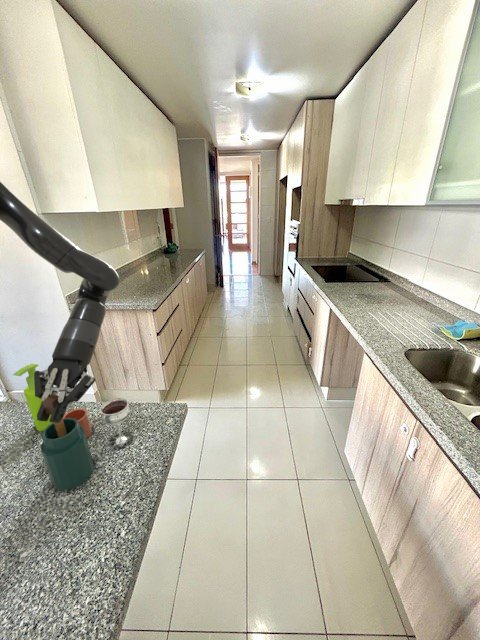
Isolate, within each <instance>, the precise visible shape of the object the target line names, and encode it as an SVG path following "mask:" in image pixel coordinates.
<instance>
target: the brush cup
mask: <svg viewBox="0 0 480 640" xmlns="http://www.w3.org/2000/svg"><path fill="white" fill-rule="evenodd" d="M89 417H90V416H89V413H88V411H87V409H85V408H76V409H75V408H74V409H72V410H70V411H67V412H66V413H65V414H64V417H63V419H65V418H75V419H76V420H77V421H78V422H79V426H80V427H82V428H83V429H84V430H85V434H86V438H87V439H88V438H89V437H90V435H92V432H93V431H92V425H91V422H90V418H89Z"/></svg>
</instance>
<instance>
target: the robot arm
mask: <svg viewBox="0 0 480 640" xmlns="http://www.w3.org/2000/svg"><path fill="white" fill-rule="evenodd" d="M0 221H1V222H2V223H4V224H5V225H6V226H7V227H8V228H9V229H10V230H12V231H13V232H14V233H15V235H16V236H17V237H18V239H20V240H21V241H22V242H23V243H24V244H25V245H26V246H27V247H28V248H29V249H30V250H31V251H32V252H34V253H35V254H37V256H39V257H41V258H42V259H43V260H45V261H46V262H47V263H48V264H50V265H52V266H53V267H54V268H56V269H57V270H59V271H60V272H61V273H64V274H74V275H77V276H78V277H81V278H82V280H81V283H80V285H79V288H78V291H77V296H76V300H75V303H74V305H73V307H72V309H71V311H70V314H69V317H68V318H67V320H66V323H65V325H64V326H63V327H62V330H61V333H60V335H59V338H58V340H57V342H56V344H55V348H54V350H53V352H52V355H51V358H52V362H51V363H50V364H49V365H48V367H47V369H44V370H42V371H41V370H36V372H35V373H34V384H35V396H36V397H39V398H40V399H41V400H42V401H44V400H45V399H46V398H48V397H49V396H50V394H51V395H57V396H59V397H58V403H56V404H55V407H54V409H53V412H52V414H51V417H50V420H49V421H50V422H54V423H59V422H60V420H62V419H63V417H64V415H65V414H66V412H67V408H68V406H69V404H71V403H74V402H75V403H77V402H80V400H81V399H82V397H83V396H84V395H85V394H86V393H87V392H88V390H90V388H91V387H92V385H93V384H94V383H95V382H96V377H93V376H91V375H89V374H88V366H89V365H90V364H91V361H92V358H93V356H94V352H95V350H96V346H97V344H98V341H99V338H100V333H101V328H102V326H103V323H104V320H105V317H106V313H107V309H106V302H107V299H108V297H109V296H110V294H111V293H112V292H114V291H116V290H117V288H118V286H119V285H120V276H119V274H118V272H117V271H116V270H115V269H114V268H113V266H111V265H110V264H109V263H107V262H106V261H104V260H102V259H100V258H98V257H96V256H94V255H93V254H90V253H89V252H86V251H84V250H83V249H81V248H80V247H79V246H77V245H76V244H75V243H74V242H72V241H71V240H70V239H68V238H67V237H66V236H65V235H63V234H62V233H61V232H59V231H58V230H57V229H56V228H54V227H53V226H51V225H50V224H49V223H47V222H46V221H45V220H44V219H43V218H41V217H40V216H39V215H38V214H36V213H35V212H34V211H33V210H31V209H30V207H28V206H27V205H26V204H25V203H23V201H21V200H20V199H19V198H18V197H17V196H15V194H14V193H13V192H12V191H10V189H9V188H8V187H6V186H5V184H4V183H3V182H2V181H0ZM51 392H52V393H51ZM49 416H50V414H46V411H45V408H44V405H43V402H42V403H41V406H40V408H39V411H38V413H37V420H38V421H47V420H48V419H49Z"/></svg>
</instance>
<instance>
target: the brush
mask: <svg viewBox="0 0 480 640" xmlns="http://www.w3.org/2000/svg"><path fill="white" fill-rule="evenodd" d="M58 397H59V395H50V396H49V397H48V398H46V399H45V400H44V401H42V402H43V405H44V408H45V411H46V414H52V412H53V409H54V407H55V404H56V403H58ZM54 425H55V428H56V431H57V435H58V438H60V437H63V436H65V435H67V432H66V429H65V426H64V422H63V419H62V420H60V422H59V423H54Z"/></svg>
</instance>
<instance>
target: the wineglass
mask: <svg viewBox="0 0 480 640" xmlns="http://www.w3.org/2000/svg"><path fill="white" fill-rule="evenodd" d="M99 412H100V414H101V415H100V417H101V420H102V421H103V423H104V424H106V425H107V426H113V427H114V426H116V428H117V432H118V436H119V437H118V438H117V439H116V440H115V443H116V444H117V445H123V444H125V443H126V441H127V437H126V436H122V431H121V424H123V423H124V422H126V420H127V419H128V418H129V416H130V413H131V408H130V405H129V400H127V398H124V397H115V398H111V399H108V400H107V401H105V402H104V403H103V404H102V405H101V406H100V407H99Z"/></svg>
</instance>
